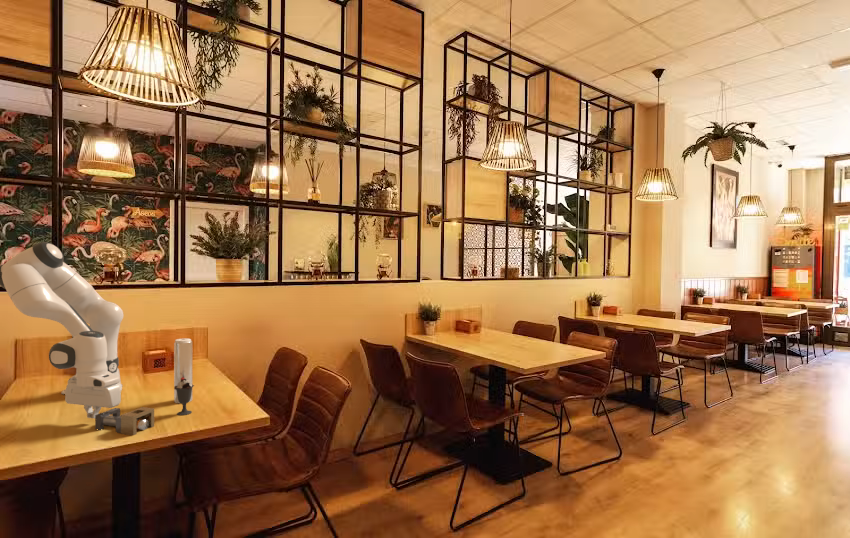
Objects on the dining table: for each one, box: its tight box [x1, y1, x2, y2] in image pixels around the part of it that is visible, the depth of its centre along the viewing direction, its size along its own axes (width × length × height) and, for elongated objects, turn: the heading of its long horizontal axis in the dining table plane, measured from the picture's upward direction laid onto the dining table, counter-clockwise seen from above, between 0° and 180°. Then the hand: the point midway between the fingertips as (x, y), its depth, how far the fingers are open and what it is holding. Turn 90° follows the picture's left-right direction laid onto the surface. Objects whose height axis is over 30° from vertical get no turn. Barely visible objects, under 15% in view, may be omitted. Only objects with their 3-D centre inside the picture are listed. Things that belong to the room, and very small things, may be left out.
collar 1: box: [94, 407, 121, 431], centre depth 158 cm, size 2×8×5 cm, turn 166°
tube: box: [103, 415, 149, 431], centre depth 158 cm, size 18×3×3 cm, turn 76°
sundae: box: [173, 373, 195, 416], centre depth 172 cm, size 7×7×15 cm
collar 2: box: [115, 413, 139, 434], centre depth 156 cm, size 2×8×5 cm, turn 166°
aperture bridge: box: [120, 406, 155, 436], centre depth 155 cm, size 5×8×6 cm, turn 166°
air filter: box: [173, 338, 193, 404], centre depth 186 cm, size 6×6×25 cm
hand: (92, 417), depth 161 cm, fingers closed
